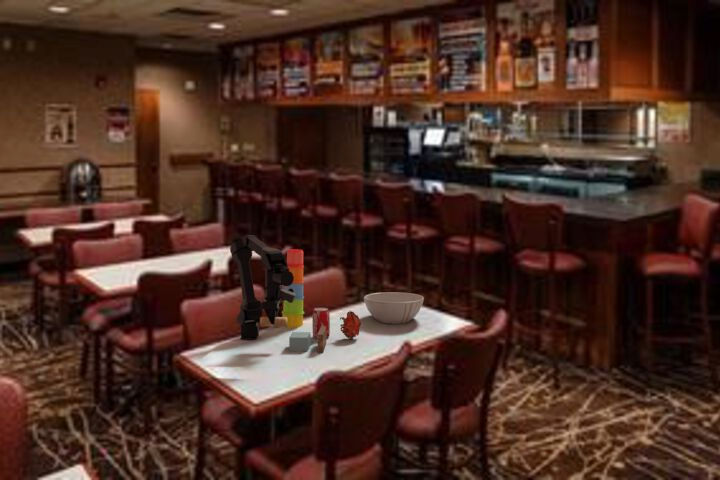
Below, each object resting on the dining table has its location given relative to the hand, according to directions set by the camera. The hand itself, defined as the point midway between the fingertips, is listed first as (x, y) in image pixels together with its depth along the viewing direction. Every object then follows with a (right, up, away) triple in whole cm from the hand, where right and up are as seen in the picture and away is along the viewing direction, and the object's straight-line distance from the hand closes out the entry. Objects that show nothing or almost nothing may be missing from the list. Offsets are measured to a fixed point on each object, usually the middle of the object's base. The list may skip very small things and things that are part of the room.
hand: (273, 323), depth 260 cm
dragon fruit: (+30, -9, +16) cm, 35 cm away
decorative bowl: (+48, -6, +45) cm, 66 cm away
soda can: (+17, -8, +18) cm, 26 cm away
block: (+10, -10, +1) cm, 14 cm away
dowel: (0, -1, 0) cm, 1 cm away
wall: (+19, -10, +1) cm, 21 cm away
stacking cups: (+4, -7, +34) cm, 35 cm away
